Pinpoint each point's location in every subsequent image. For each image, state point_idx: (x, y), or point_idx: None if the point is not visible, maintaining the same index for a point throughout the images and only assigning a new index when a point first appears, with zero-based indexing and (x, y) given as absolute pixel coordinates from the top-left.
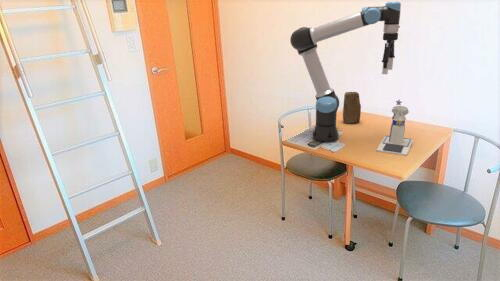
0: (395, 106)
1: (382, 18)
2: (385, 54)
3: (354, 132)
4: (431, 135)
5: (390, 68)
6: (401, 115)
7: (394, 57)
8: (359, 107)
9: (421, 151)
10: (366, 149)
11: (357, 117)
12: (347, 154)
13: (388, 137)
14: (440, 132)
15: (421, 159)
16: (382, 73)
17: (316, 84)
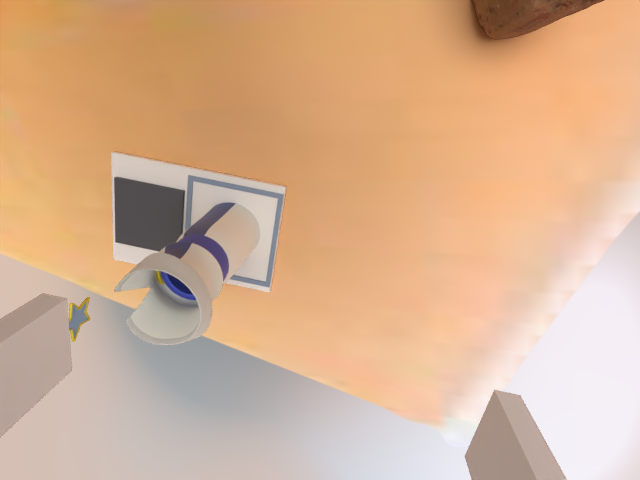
0: (184, 283)
1: None
2: None
3: (319, 27)
4: (346, 355)
5: (482, 455)
6: (148, 295)
7: None
8: (515, 13)
9: None
10: (116, 108)
11: (484, 19)
12: (29, 26)
13: (266, 201)
14: (386, 387)
15: (106, 297)
16: (33, 304)
17: None
